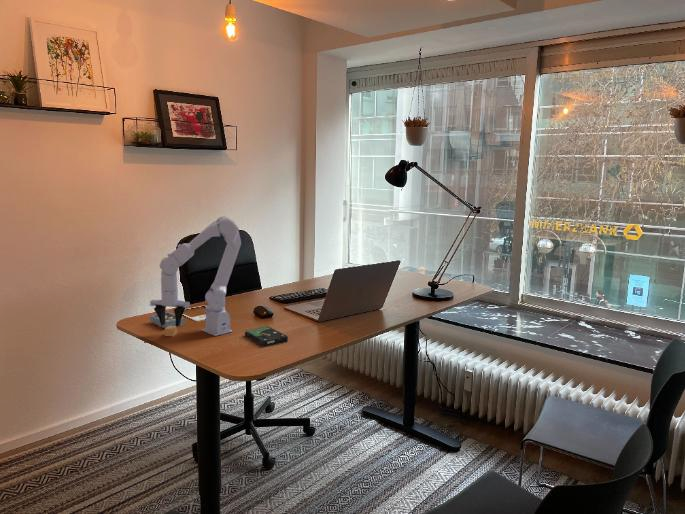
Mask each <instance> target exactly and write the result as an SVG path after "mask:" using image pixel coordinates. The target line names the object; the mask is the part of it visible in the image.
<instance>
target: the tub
mask: <svg viewBox="0 0 685 514" xmlns="http://www.w3.org/2000/svg"><path fill="white" fill-rule="evenodd" d="M149 322H152V323H154V324H156V325H158V326H157V327H159V326H160V327H159V328H161V327H162V328H161V329H163V328H167V327H168V326H176V318H175V313H172V312H169V311H167V312H166V311H165V324H164V325H163V326H161V323H160V320H159V317H158V315H157V313H155V314H152V315H149ZM152 323H151V324H152ZM154 324H153V325H154ZM156 325H155V326H156ZM182 325H184V326H185V318H184V317H182V318H181V322H180V325H179V326H180V327H183V326H182Z"/></svg>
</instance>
